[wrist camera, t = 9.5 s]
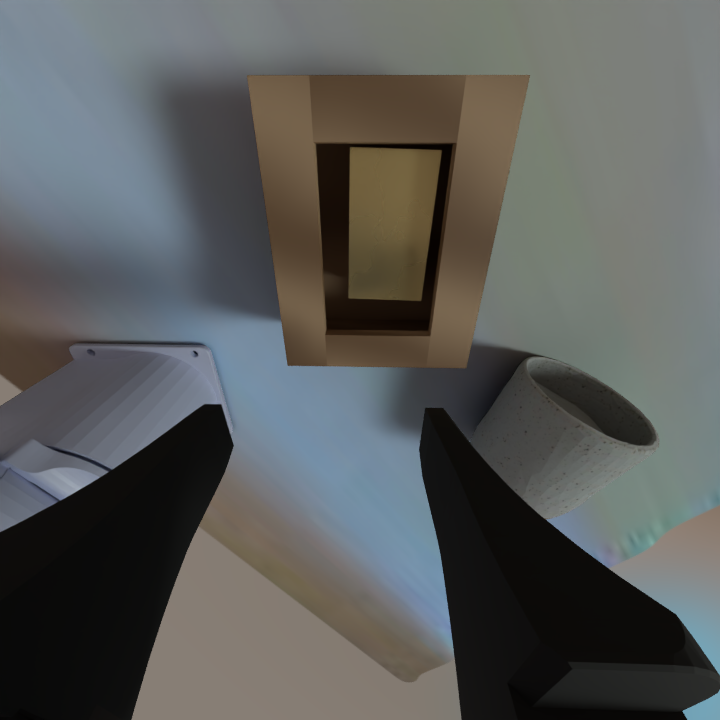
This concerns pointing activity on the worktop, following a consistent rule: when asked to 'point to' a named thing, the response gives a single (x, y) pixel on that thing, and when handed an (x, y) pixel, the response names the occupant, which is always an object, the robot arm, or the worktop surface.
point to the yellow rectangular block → (390, 221)
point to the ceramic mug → (561, 435)
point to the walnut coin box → (331, 207)
